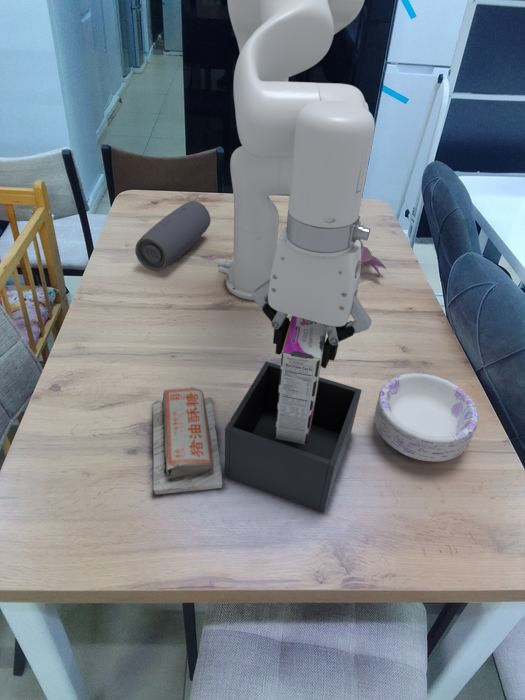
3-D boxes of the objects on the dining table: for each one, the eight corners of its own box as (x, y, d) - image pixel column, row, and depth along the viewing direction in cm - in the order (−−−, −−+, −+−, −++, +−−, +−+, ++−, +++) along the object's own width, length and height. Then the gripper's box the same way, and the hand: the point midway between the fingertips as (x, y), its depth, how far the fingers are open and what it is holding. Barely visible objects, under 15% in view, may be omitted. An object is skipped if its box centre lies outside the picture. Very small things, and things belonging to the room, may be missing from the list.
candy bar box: (284, 386, 78) (295, 298, 68) (316, 392, 78) (332, 304, 67) (271, 440, 70) (280, 350, 59) (307, 447, 69) (322, 358, 59)
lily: (381, 294, 118) (402, 257, 115) (337, 274, 116) (358, 235, 113) (367, 282, 129) (386, 248, 127) (327, 263, 127) (345, 228, 124)
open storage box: (224, 476, 76) (224, 428, 69) (262, 407, 87) (266, 360, 80) (324, 512, 72) (334, 466, 65) (350, 435, 83) (361, 389, 76)
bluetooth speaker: (181, 231, 136) (179, 195, 129) (212, 238, 133) (212, 202, 127) (135, 270, 119) (130, 231, 113) (170, 280, 117) (167, 240, 110)
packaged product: (150, 386, 83) (211, 381, 84) (153, 406, 86) (211, 402, 87) (150, 476, 69) (223, 469, 71) (153, 497, 72) (223, 489, 74)
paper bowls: (364, 401, 89) (373, 368, 84) (450, 406, 90) (463, 373, 84) (377, 472, 78) (388, 438, 73) (475, 478, 78) (493, 444, 73)
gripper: (405, 231, 55) (373, 356, 67) (260, 200, 60) (254, 322, 71) (393, 262, 50) (360, 392, 62) (234, 225, 54) (232, 353, 66)
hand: (303, 353), depth 66 cm, fingers closed on candy bar box, 5 cm apart
